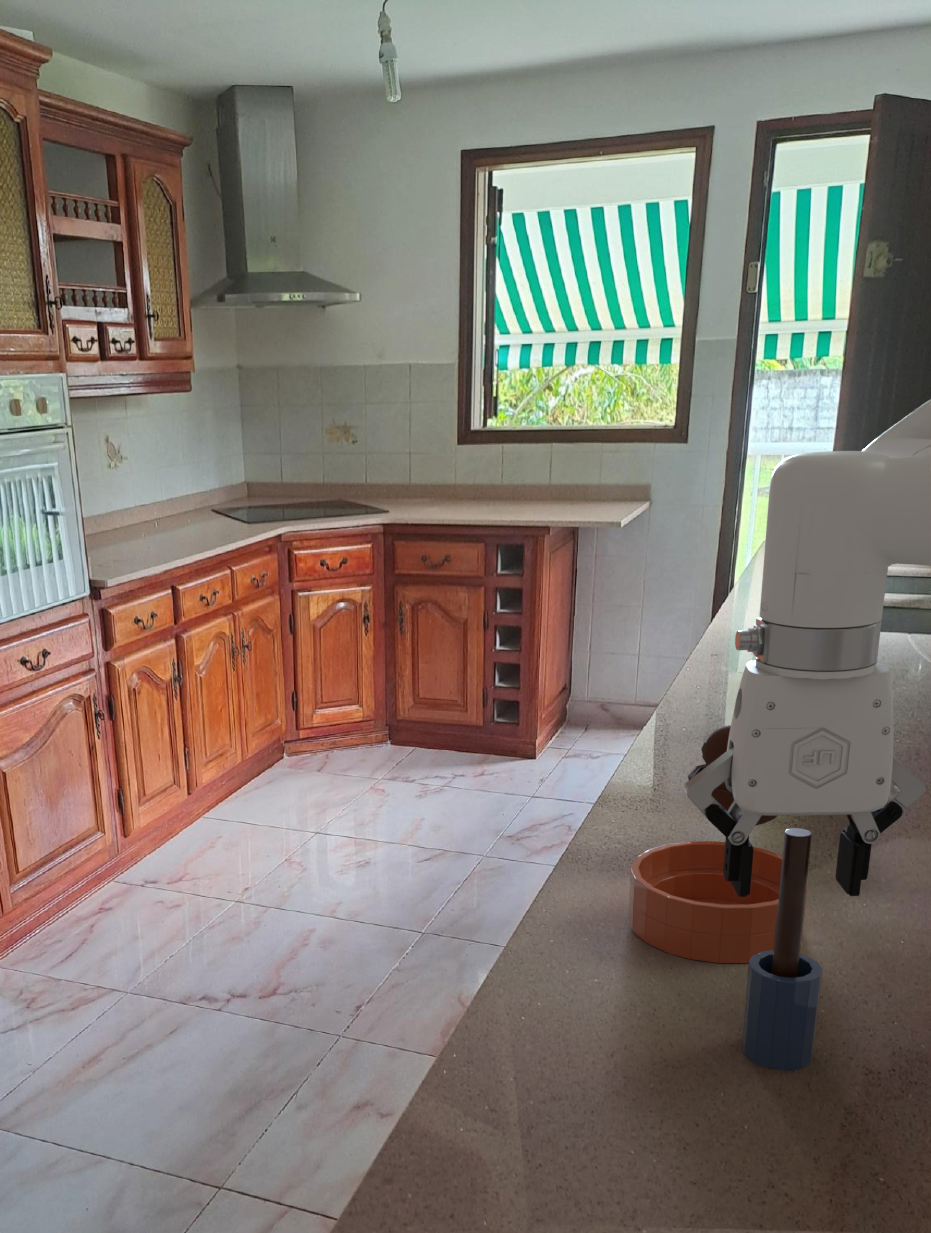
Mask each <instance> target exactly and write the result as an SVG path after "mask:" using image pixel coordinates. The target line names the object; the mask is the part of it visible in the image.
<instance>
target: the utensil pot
mask: <svg viewBox="0 0 931 1233" xmlns="http://www.w3.org/2000/svg"><path fill="white" fill-rule="evenodd" d="M773 951H774V950H771V951H763V952H760V953H757V954H755V955H753V956H752V957H751V959H750V961H749V963H748V967H747V979H746V988H745V989H746V990H745V1000H744V1012H743V1024H742V1035H741V1036H742V1037H741V1049H742V1050H741V1051H742V1053H743V1054H744V1056H745V1057H746V1058H747V1059H748V1060H750V1062H752V1063H754V1064H756V1065H757V1066H761V1067H762V1068H763V1067H764V1068H767V1069H771V1070H775V1071H795V1070H799V1069H803V1068H806V1067H808V1066H809V1065H810V1064H811V1062H812V1060H813V1057H814V1051H815V1042H816V1034H817V1033H816V1032H817V1024H818V1017H819V1016H818V1014H819V1006H820V998H821V988H822V979H823V972H824V970H823V968H822V965H821V964H820V963H819V962H818V961H817V960H815V959H814V958H812V957H810V956H808V955H806V954H803V953H800V956H799V966H798V976H797V977H795V978H789V977H780V976H777V975H773V974H771V973H772V962H773Z"/></svg>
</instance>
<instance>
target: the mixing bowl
mask: <svg viewBox="0 0 931 1233" xmlns="http://www.w3.org/2000/svg"><path fill="white" fill-rule="evenodd" d="M724 854H725V841H715V840H714V841H713V840H707V841H705V840H704V841H703V840H701V841H700V840H699V841H683V842H675V843H668V844H664V845H663V844H662V845H660V846H657V847H654V848H650V849H648V850H646V851H644V852H643V853H641V854H640V855H638V856H637V857H635V858H634V861H633V862H632V865H631V867H630V876H629V877H630V879H629V900H628V901H629V903H628V922H629V925H630V928H631V930H632V932H633V933H635V935H636V936H638V938H640V939H641V940H642V941H643V942H645V943H646V944H648V945H650V946H652V947H654V948H656V949H658V950H660V951H663V952H665V953H668V954H670V955H674V956H677V957H682V958H685V959H687V960H694V961H701V962H707V963H715V964H749V961H750V959H751V957H752V956H753V955H755V954H757V953H760V952H763V951H771V950H774V941H775V930H776V919H777V909H778V898H779V887H780V877H781V866H782V855H781V854H778V853H776V852H773V851H770V850H768V849H764V848H762V847H761V848H760V847H756V846H753V863H752V875H751V886H750V894H749V895H747V897H739V896H738V895H737V893H736V891H735V889H734V888H733V886H732V884H731V882H730V881H726V880H725V878H724V873H723V867H724ZM808 887H809V877H808V878H807V888H806V898H805V908H804V917H803V927H802V937H801V943H802V941H803V935H804V925H805V916H806V907H807V897H808V889H809V888H808Z"/></svg>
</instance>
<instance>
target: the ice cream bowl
mask: <svg viewBox="0 0 931 1233" xmlns="http://www.w3.org/2000/svg"><path fill="white" fill-rule="evenodd" d="M730 728H731V724H729V725H722V726H720V727H719V728H717V729H715V730H714V731H711V733H709V734H708V736H707V738H706V739H705V741H704V743H703V744H702V746H701V748H700V750H701V754H702V756H701V757H702V760H703V761H704V764H700V765H696V766H694V767H693V769H692V770H691V772H690V773H689V774H688V775H687V778H688V781H689V780H690V779H692V778H693V777H694V776H695V775H697V774H698V773H699V772H701V771H702V770H703V769H704V768H706V767H707V766H708V765H710V764H711V763H712V762H714V761H715V760H716V759H717V758H719V757H720V756H721V755H723V754H724V753H725V752H726V751H727V746H728V739H729V734H730ZM712 797H713V798H714V799H715V800H716V801H717V802H718V803H719V804H720V805H721V806H722V807H723V808H724V809H725V810H727V811H728V809H729V808H730V806H731V805H732V803H733V801H734V797H733V793H732V792H730V791H729V790H728V789H727V788H726V785H725V782H723V783H722V784H721V785H719V786H718V787H717V788H715V789H714V790H713V791H712ZM776 818H778V816H774V815H762V816H761V818H760V819H759V821H758V822H757V824H756V825H755V827H756V826H761V825H764V824H767V823H768V822H770V821H773V820H775V819H776Z"/></svg>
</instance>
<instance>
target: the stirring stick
mask: <svg viewBox="0 0 931 1233" xmlns="http://www.w3.org/2000/svg"><path fill="white" fill-rule="evenodd" d="M812 837H813V833H812V832H811V831H810V830H808V829H805V828H800V827H791V828H786V830H785V831H784V836H783V845H782V846H783V847H782V855H781V856H782V866H781V877H780V887H779V898H778V909H777V919H776V930H775V941H774V951H773V962H772V973H771V974H773V975H777V976H780V977H789V978H795V977H797V976H798V966H799V956H800V954H801V947H802V942H801V937H802V938H803V936H802V927H803V917H804V908H805V898H806V888H807V878H808V879H809V868H810V867H809V866H810V858H811V850H812V849H811V847H812V839H813V838H812ZM807 889H808V888H807ZM806 899H807V898H806ZM805 909H806V908H805ZM804 918H805V917H804ZM803 928H804V927H803Z"/></svg>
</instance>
